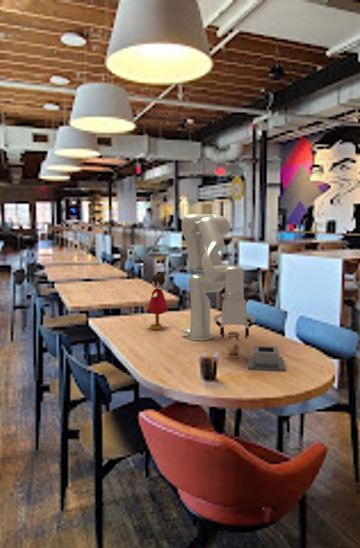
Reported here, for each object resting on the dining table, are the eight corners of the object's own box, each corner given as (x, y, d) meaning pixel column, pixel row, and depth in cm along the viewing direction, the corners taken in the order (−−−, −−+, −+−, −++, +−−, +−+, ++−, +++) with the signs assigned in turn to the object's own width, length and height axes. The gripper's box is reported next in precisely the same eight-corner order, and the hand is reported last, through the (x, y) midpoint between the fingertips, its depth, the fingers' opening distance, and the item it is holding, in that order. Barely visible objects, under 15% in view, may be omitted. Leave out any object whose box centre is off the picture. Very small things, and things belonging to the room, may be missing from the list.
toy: (150, 322, 237) (150, 269, 234) (170, 322, 237) (169, 269, 233) (145, 335, 211) (144, 275, 207) (167, 335, 211) (166, 275, 207)
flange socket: (247, 369, 162) (248, 354, 161) (247, 357, 175) (248, 343, 175) (285, 371, 159) (285, 355, 159) (282, 359, 173) (282, 345, 172)
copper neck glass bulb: (227, 357, 175) (227, 334, 174) (228, 354, 180) (228, 331, 179) (238, 358, 175) (239, 334, 173) (239, 354, 179) (239, 332, 178)
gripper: (212, 297, 172) (213, 339, 173) (255, 298, 169) (255, 340, 170) (214, 295, 179) (214, 334, 181) (255, 295, 176) (255, 335, 178)
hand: (234, 337), depth 176 cm, fingers open, 9 cm apart
